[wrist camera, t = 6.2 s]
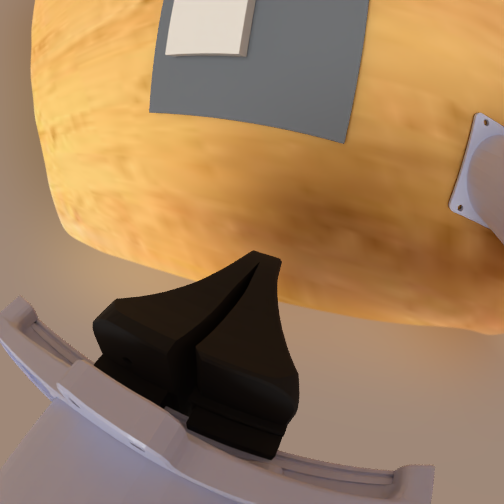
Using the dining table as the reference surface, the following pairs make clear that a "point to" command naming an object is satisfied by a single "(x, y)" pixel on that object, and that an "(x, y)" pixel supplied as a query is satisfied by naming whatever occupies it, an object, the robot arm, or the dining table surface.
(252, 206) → the dining table surface
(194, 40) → the tile
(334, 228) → the dining table surface
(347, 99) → the mat
